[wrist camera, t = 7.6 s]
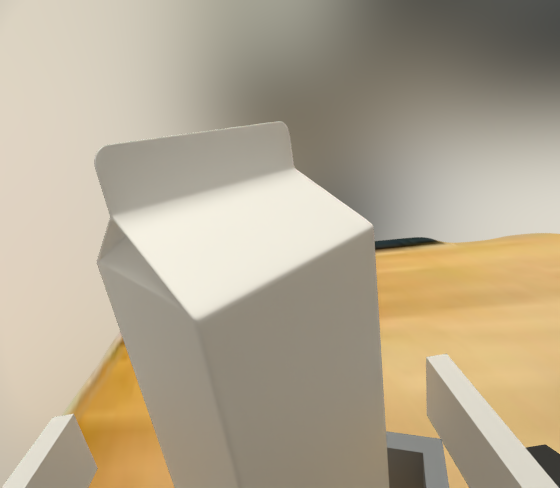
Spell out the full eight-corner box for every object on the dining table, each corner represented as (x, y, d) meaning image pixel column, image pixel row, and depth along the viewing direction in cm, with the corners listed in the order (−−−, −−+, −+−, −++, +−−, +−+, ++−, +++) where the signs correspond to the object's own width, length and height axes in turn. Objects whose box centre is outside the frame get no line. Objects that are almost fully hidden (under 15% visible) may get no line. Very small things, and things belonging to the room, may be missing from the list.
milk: (397, 611, 16) (376, 105, 9) (313, 784, 12) (149, 131, 5) (301, 517, 20) (234, 128, 13) (217, 621, 16) (56, 152, 9)
